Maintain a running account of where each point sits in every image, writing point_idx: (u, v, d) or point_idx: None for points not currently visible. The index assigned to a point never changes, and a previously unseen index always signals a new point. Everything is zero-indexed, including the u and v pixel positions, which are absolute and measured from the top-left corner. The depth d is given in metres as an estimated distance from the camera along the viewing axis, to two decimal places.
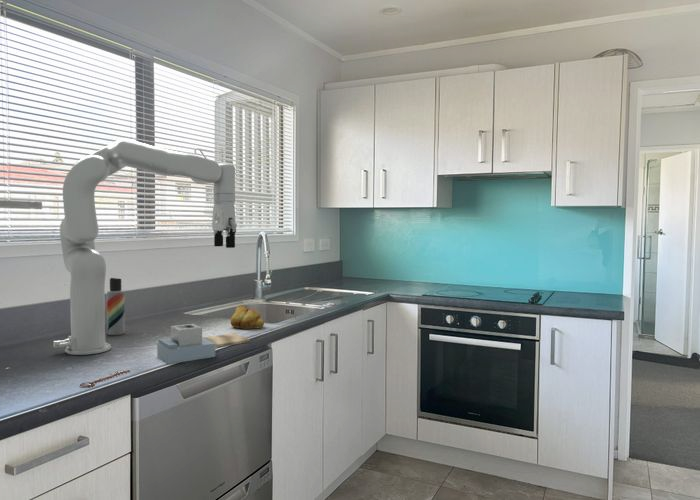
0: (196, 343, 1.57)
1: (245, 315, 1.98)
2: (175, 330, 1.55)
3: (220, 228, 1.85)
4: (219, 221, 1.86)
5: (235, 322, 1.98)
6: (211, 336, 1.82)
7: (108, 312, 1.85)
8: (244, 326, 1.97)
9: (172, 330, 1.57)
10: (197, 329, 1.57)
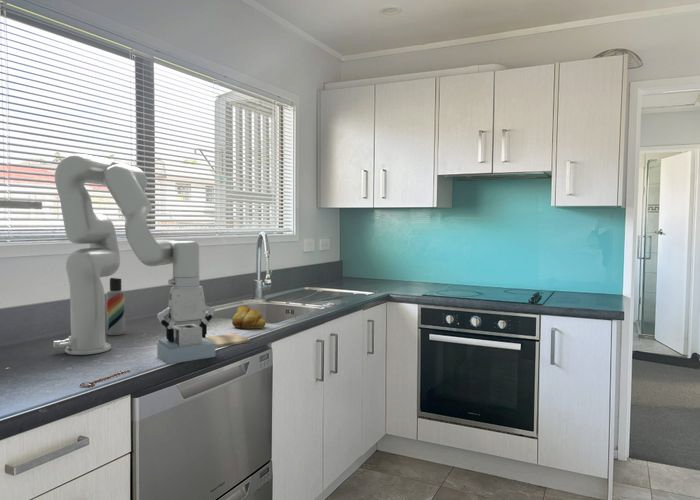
0: (196, 343, 1.57)
1: (246, 315, 1.98)
2: (175, 330, 1.55)
3: (199, 317, 1.57)
4: (196, 309, 1.57)
5: (236, 322, 1.98)
6: (211, 336, 1.82)
7: (108, 312, 1.85)
8: (245, 326, 1.98)
9: None
10: (197, 329, 1.57)
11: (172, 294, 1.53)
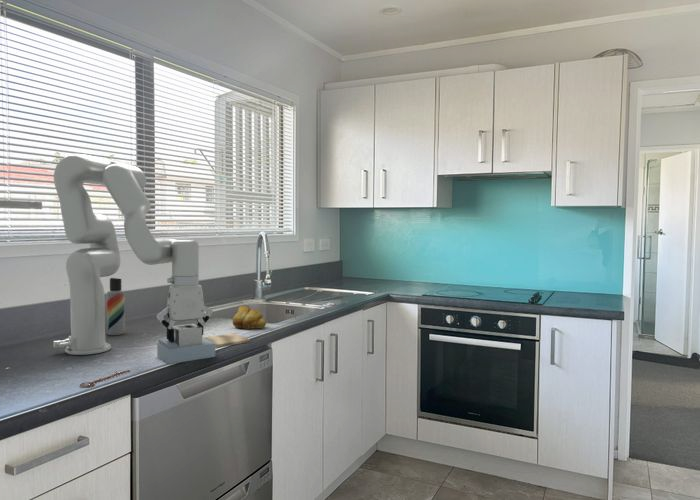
0: (196, 343, 1.57)
1: (247, 315, 1.98)
2: (175, 330, 1.55)
3: (198, 316, 1.57)
4: (195, 308, 1.56)
5: (237, 322, 1.98)
6: (211, 336, 1.82)
7: (108, 312, 1.85)
8: (246, 326, 1.98)
9: None
10: (197, 329, 1.57)
11: (171, 293, 1.53)
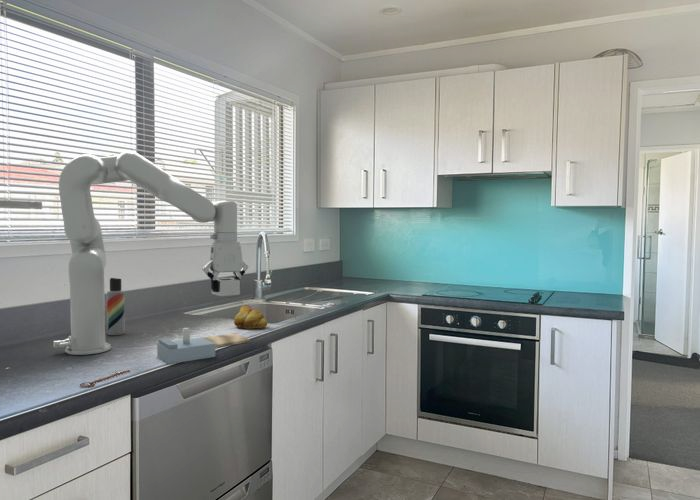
0: (235, 293, 1.77)
1: (248, 315, 1.98)
2: None
3: (237, 269, 1.77)
4: (234, 262, 1.76)
5: (238, 322, 1.98)
6: (211, 336, 1.82)
7: (108, 312, 1.85)
8: (247, 326, 1.98)
9: None
10: (235, 281, 1.76)
11: (214, 247, 1.73)
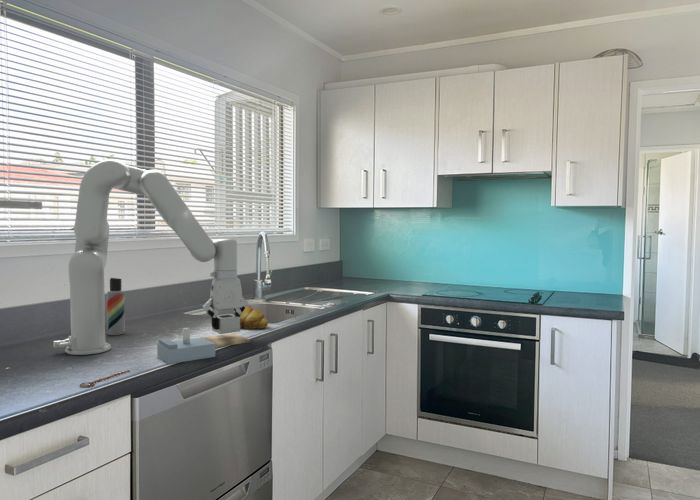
0: (235, 330, 1.77)
1: (249, 315, 1.99)
2: None
3: (237, 306, 1.78)
4: (234, 299, 1.77)
5: None
6: (211, 336, 1.82)
7: (108, 312, 1.85)
8: (247, 326, 1.98)
9: None
10: (236, 318, 1.77)
11: (214, 285, 1.74)
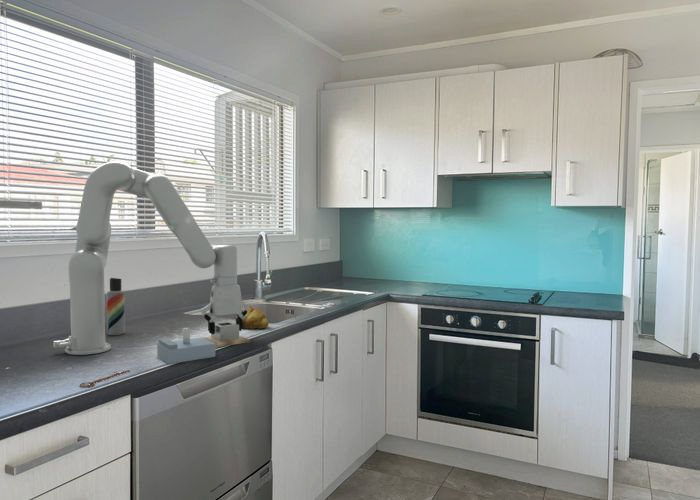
0: (234, 338, 1.77)
1: (249, 315, 1.99)
2: (216, 327, 1.76)
3: (237, 312, 1.78)
4: (234, 305, 1.77)
5: None
6: None
7: (108, 312, 1.85)
8: (248, 326, 1.98)
9: None
10: (235, 326, 1.77)
11: (214, 291, 1.74)
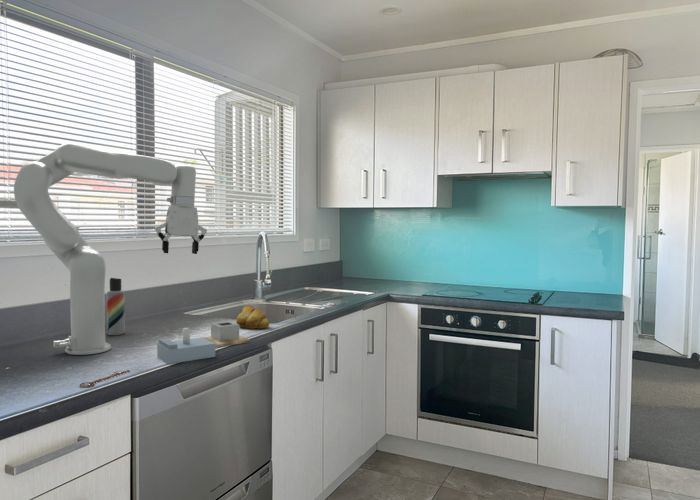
0: (234, 338, 1.77)
1: (250, 315, 1.99)
2: (216, 327, 1.76)
3: (192, 234, 1.77)
4: (190, 226, 1.76)
5: (240, 322, 1.98)
6: None
7: (108, 312, 1.85)
8: (249, 326, 1.98)
9: (213, 327, 1.78)
10: (235, 326, 1.77)
11: (169, 210, 1.74)
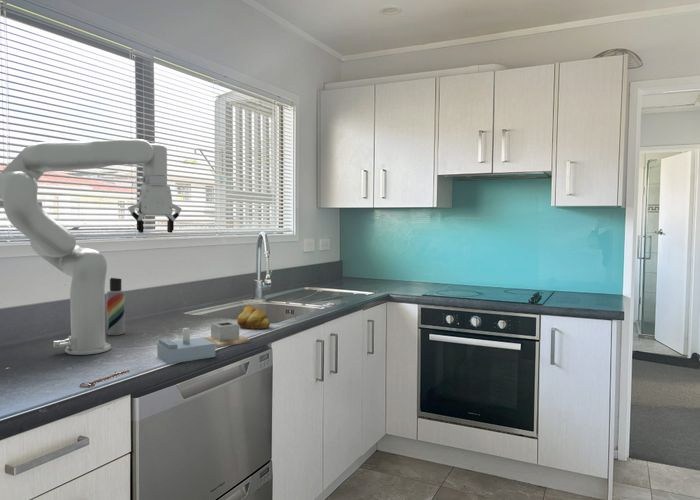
0: (234, 338, 1.77)
1: (250, 315, 1.99)
2: (216, 327, 1.76)
3: (166, 212, 1.78)
4: (164, 205, 1.77)
5: (241, 322, 1.99)
6: None
7: (108, 312, 1.85)
8: (249, 326, 1.98)
9: (213, 327, 1.78)
10: (235, 326, 1.77)
11: (142, 190, 1.74)
